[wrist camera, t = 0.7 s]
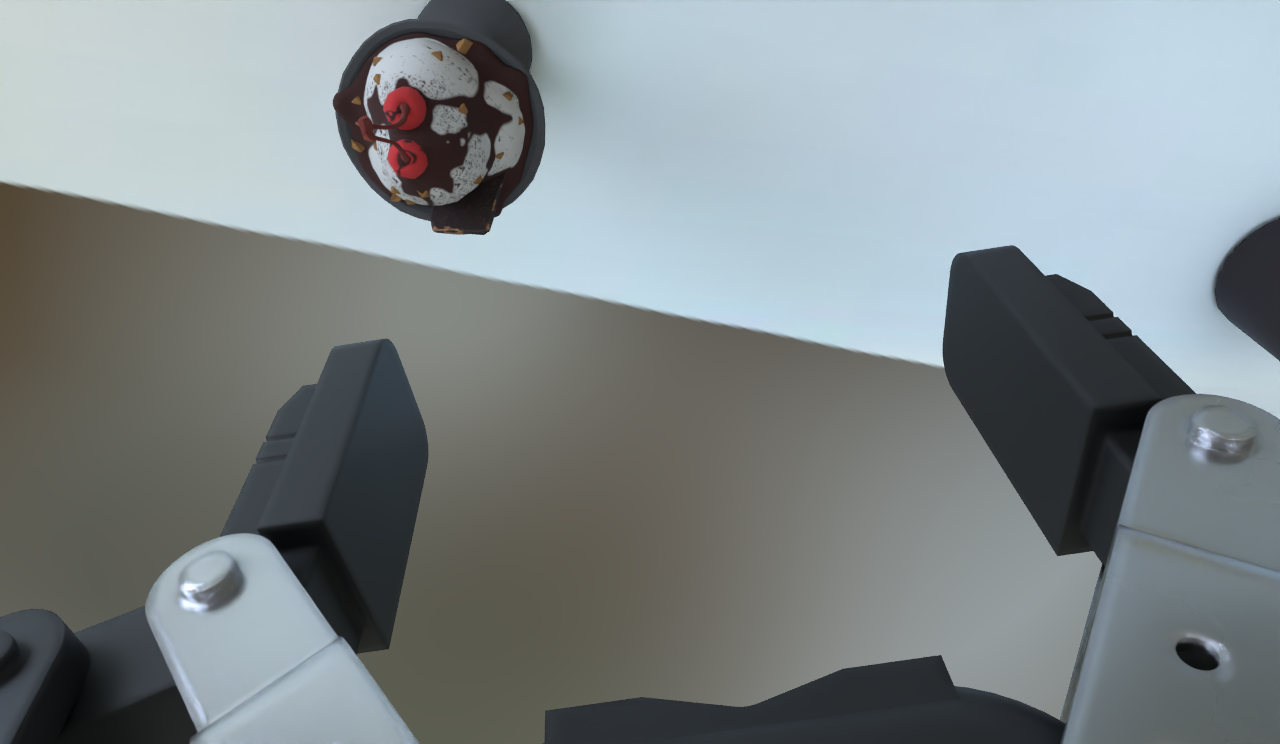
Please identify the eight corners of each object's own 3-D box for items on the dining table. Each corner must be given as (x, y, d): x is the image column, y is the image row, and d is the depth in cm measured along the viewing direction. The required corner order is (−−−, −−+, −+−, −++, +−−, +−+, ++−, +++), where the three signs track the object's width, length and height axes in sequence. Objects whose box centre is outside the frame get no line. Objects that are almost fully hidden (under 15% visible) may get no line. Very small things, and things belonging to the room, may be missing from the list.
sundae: (409, -65, 32) (309, 22, 20) (572, 0, 34) (571, 117, 22) (376, 95, 36) (273, 252, 23) (525, 146, 37) (502, 318, 25)
